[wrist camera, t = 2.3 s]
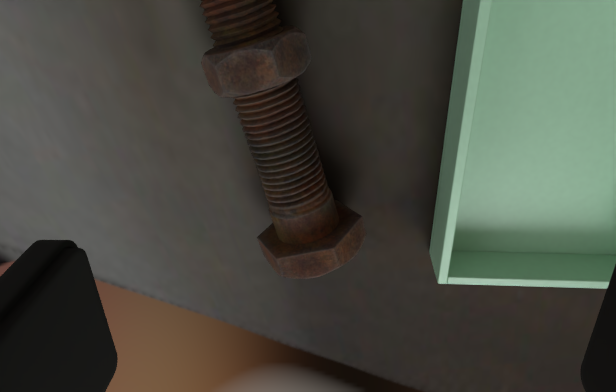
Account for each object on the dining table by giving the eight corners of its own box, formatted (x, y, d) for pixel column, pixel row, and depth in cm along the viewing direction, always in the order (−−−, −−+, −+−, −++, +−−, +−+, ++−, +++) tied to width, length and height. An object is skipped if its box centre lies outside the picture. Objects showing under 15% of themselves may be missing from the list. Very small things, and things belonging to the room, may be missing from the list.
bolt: (254, -52, 23) (330, 213, 30) (153, -23, 22) (256, 249, 28) (304, -75, 18) (383, 251, 25) (177, -39, 17) (296, 297, 23)
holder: (428, 251, 29) (437, 283, 27) (475, -98, 20) (495, -102, 18) (618, 256, 29) (646, 290, 26) (750, -102, 20) (812, -106, 17)
